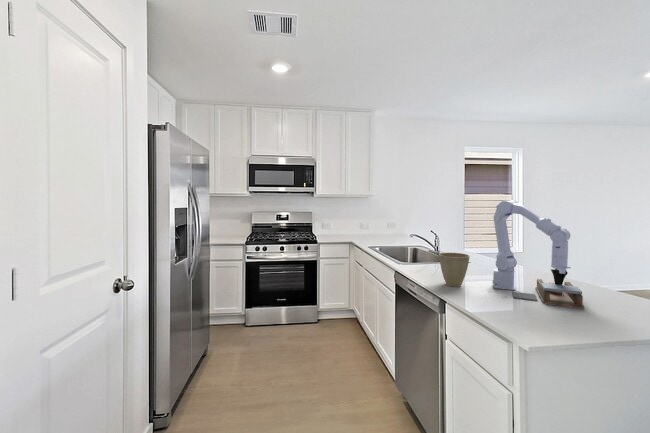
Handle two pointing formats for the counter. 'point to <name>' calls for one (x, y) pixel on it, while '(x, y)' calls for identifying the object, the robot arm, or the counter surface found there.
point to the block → (555, 292)
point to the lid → (561, 288)
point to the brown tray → (559, 297)
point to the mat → (524, 296)
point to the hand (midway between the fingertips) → (558, 286)
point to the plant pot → (454, 267)
